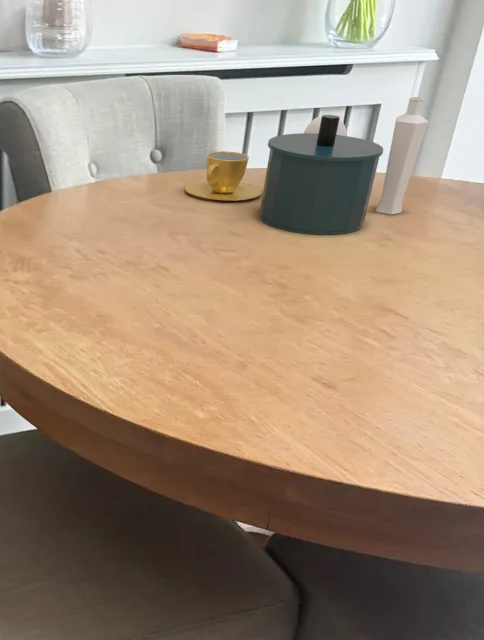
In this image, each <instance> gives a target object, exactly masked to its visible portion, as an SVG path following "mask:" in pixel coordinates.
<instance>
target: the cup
mask: <svg viewBox="0 0 484 640" xmlns="http://www.w3.org/2000/svg"><path fill="white" fill-rule="evenodd" d="M249 158H250V157H249V155H247V154H245V153H242V152H237V151H228V150H227V151H226V150H225V151H220V150H219V151H212V152H208V153H207V154H206V168H205V169H206V180H200V181H195V182H191V183H188V184H187V185H185V186H184V190H185V192H186V193H188V194H190V195H192V196H195V197H199V198H203V199H209V200H217V201H245V200H251V199H255V198H258V197H259V196H261V194H262V192H261V190H260V189H259V188H257V187H256V186H254V185H251V184H248V183H243V182H242V180H243V178H244V175H245V173H246V170H247V167H248V162H249Z"/></svg>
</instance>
